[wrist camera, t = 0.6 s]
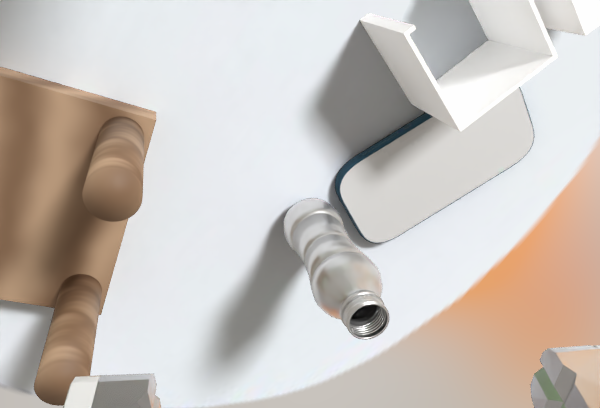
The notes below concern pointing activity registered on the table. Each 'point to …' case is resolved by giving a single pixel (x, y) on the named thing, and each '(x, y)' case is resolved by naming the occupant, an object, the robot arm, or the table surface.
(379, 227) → the external hard drive
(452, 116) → the storage container
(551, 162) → the table surface
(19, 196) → the stool
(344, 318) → the plastic bottle
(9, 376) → the table surface
